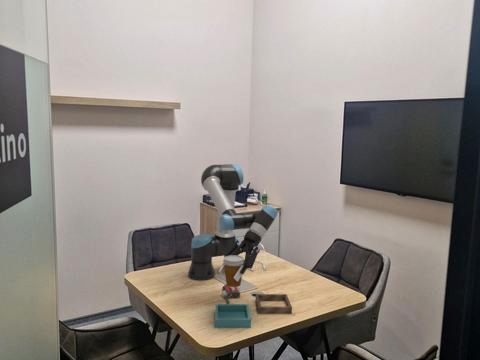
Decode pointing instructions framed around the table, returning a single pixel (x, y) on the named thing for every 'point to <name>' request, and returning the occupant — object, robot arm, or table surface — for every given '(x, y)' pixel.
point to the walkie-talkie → (230, 292)
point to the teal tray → (232, 316)
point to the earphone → (259, 261)
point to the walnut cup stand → (273, 309)
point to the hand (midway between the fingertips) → (228, 276)
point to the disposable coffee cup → (232, 269)
